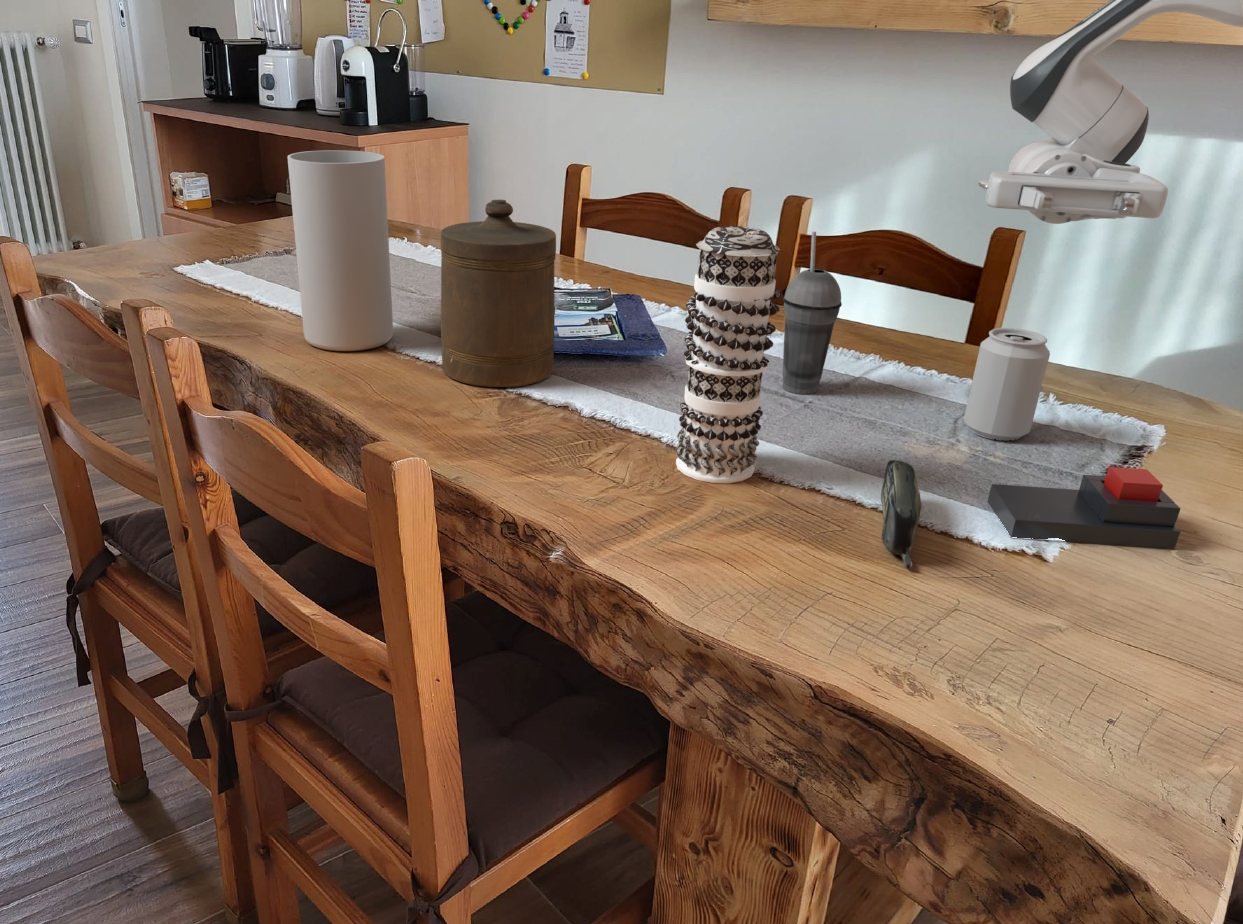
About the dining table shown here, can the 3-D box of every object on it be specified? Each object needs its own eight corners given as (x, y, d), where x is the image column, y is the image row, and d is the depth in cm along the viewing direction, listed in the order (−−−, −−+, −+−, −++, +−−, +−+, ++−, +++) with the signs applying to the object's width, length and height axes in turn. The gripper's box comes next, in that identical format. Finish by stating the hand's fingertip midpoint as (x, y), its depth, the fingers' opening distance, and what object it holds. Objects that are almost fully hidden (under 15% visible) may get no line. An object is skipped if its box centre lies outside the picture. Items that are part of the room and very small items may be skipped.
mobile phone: (883, 454, 99) (893, 517, 86) (915, 458, 99) (929, 521, 85) (875, 499, 101) (883, 567, 88) (906, 503, 101) (919, 572, 87)
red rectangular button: (1140, 488, 97) (1147, 469, 96) (1156, 504, 94) (1163, 485, 93) (1102, 485, 97) (1108, 466, 96) (1117, 501, 94) (1123, 482, 93)
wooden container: (560, 356, 138) (565, 193, 129) (543, 392, 125) (546, 214, 115) (457, 348, 140) (453, 187, 130) (429, 383, 127) (423, 207, 117)
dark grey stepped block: (1138, 511, 100) (1150, 475, 98) (1174, 550, 93) (1187, 512, 91) (987, 501, 101) (995, 465, 100) (1010, 538, 94) (1020, 500, 92)
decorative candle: (772, 482, 104) (805, 240, 93) (687, 487, 102) (711, 241, 91) (740, 447, 112) (767, 221, 100) (661, 452, 110) (680, 221, 99)
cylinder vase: (286, 344, 139) (267, 158, 128) (338, 322, 150) (325, 147, 138) (361, 358, 135) (348, 166, 124) (410, 334, 145) (402, 155, 134)
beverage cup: (804, 402, 125) (827, 242, 116) (760, 385, 130) (779, 231, 121) (839, 390, 130) (864, 235, 121) (795, 375, 135) (816, 225, 126)
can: (1032, 428, 120) (1057, 331, 115) (1023, 448, 114) (1049, 348, 109) (968, 415, 123) (989, 320, 118) (956, 434, 117) (978, 336, 112)
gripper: (981, 156, 128) (1001, 171, 116) (1151, 166, 125) (1189, 182, 113) (970, 206, 131) (989, 226, 119) (1136, 217, 128) (1172, 238, 116)
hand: (1088, 205), depth 116 cm, fingers open, 8 cm apart
